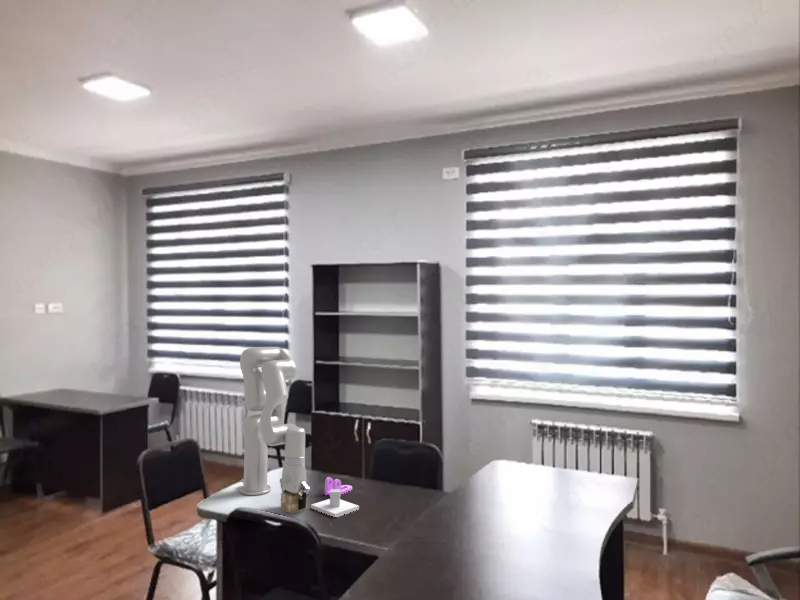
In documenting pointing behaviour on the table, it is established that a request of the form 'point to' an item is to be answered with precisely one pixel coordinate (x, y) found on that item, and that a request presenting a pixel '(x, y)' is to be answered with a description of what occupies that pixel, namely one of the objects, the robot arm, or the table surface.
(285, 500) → the wooden collar
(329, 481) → the bracket
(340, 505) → the plate
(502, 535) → the table surface
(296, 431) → the robot arm
